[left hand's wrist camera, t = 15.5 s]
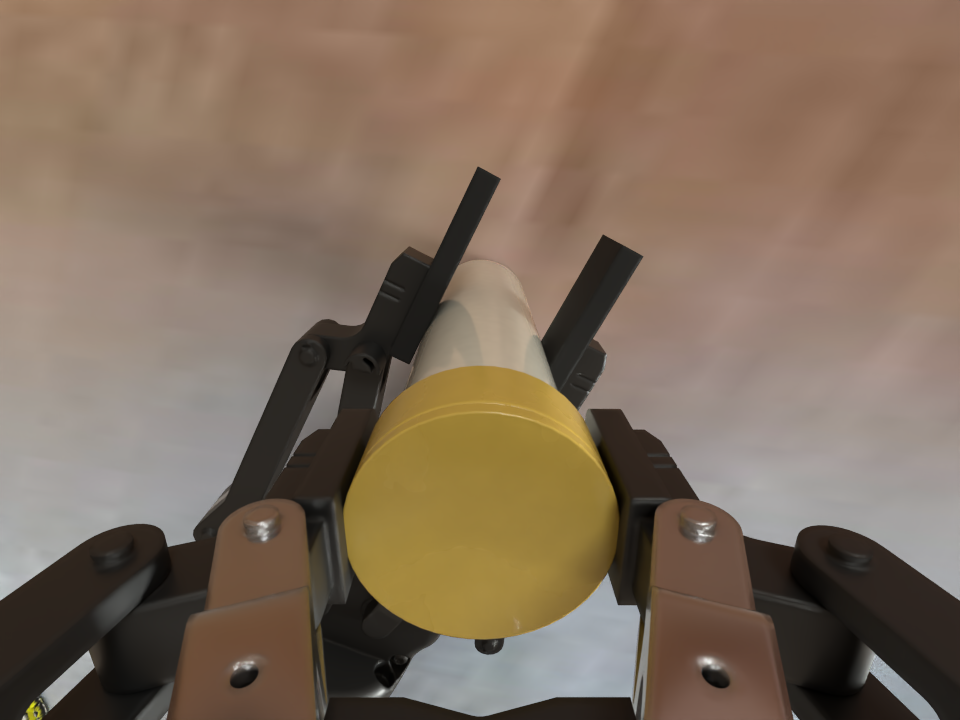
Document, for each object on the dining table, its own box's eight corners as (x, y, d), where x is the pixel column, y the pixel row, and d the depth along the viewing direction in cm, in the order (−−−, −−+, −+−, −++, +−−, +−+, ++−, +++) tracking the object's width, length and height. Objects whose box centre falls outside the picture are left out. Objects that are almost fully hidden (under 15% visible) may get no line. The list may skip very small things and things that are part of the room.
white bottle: (418, 308, 25) (322, 530, 10) (475, 240, 23) (466, 370, 9) (485, 362, 26) (493, 637, 11) (543, 298, 24) (642, 508, 9)
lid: (339, 525, 12) (311, 599, 10) (407, 329, 10) (388, 370, 8) (541, 585, 12) (553, 667, 10) (635, 410, 11) (671, 467, 9)
